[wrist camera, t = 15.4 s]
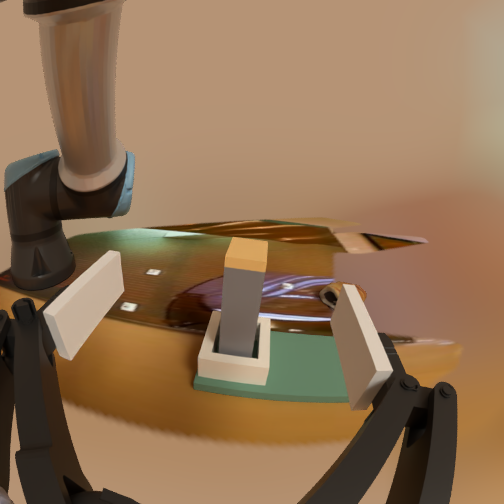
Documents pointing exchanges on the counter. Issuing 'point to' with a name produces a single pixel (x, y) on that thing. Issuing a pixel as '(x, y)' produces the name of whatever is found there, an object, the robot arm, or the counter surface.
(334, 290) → the pastry
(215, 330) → the header
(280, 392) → the board
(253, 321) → the plug
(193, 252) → the counter surface
